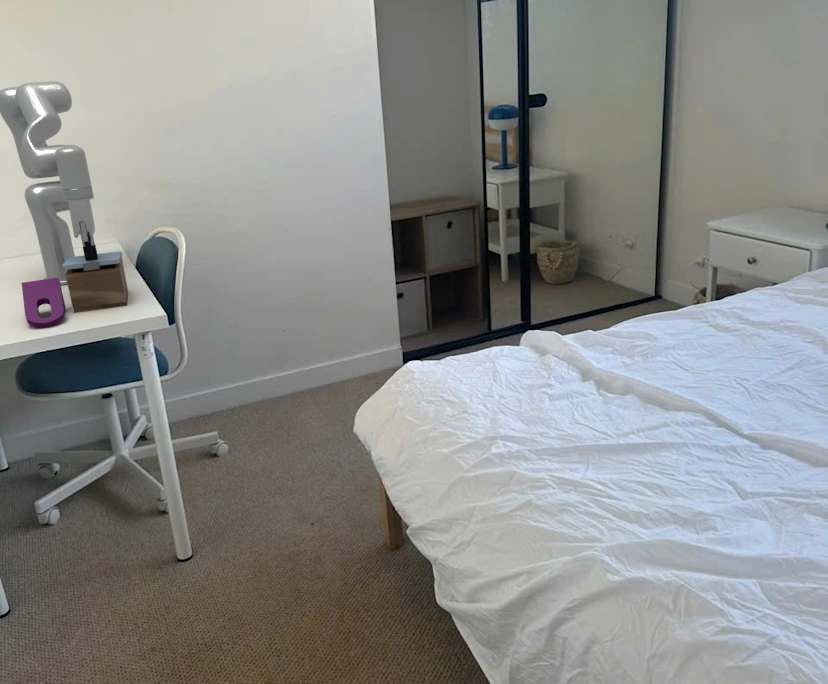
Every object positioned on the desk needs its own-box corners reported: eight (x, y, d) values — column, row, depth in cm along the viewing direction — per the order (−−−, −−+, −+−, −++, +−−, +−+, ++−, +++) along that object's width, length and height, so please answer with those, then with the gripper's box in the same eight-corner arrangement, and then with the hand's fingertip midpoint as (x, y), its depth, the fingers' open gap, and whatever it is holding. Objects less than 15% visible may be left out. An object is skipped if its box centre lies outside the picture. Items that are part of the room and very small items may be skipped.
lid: (70, 263, 217) (68, 257, 217) (122, 257, 222) (121, 251, 221) (63, 273, 202) (61, 266, 201) (119, 266, 206) (118, 259, 205)
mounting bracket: (71, 342, 202) (64, 300, 213) (65, 319, 196) (58, 277, 207) (32, 348, 198) (28, 305, 210) (26, 325, 193) (21, 282, 204)
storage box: (78, 297, 221) (71, 262, 217) (128, 291, 225) (121, 256, 221) (73, 312, 207) (65, 274, 203) (126, 305, 211) (119, 268, 207)
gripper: (66, 192, 207) (79, 255, 214) (60, 199, 194) (75, 267, 200) (94, 189, 210) (107, 252, 216) (90, 196, 196) (104, 263, 202)
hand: (91, 259), depth 208 cm, fingers closed
